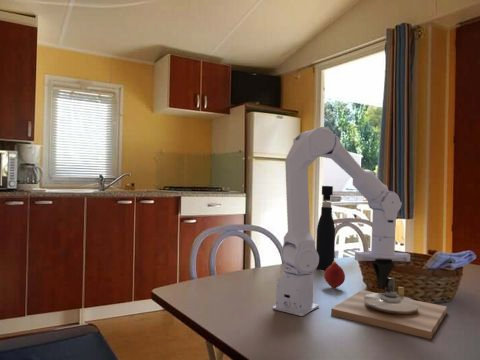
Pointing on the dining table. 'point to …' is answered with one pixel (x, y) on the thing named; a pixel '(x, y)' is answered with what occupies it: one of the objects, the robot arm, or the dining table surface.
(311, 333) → the dining table surface
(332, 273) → the red oval fruit
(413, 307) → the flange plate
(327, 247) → the wine bottle
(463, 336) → the dining table surface
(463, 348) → the dining table surface
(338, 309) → the base board
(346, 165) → the robot arm
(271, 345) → the dining table surface
